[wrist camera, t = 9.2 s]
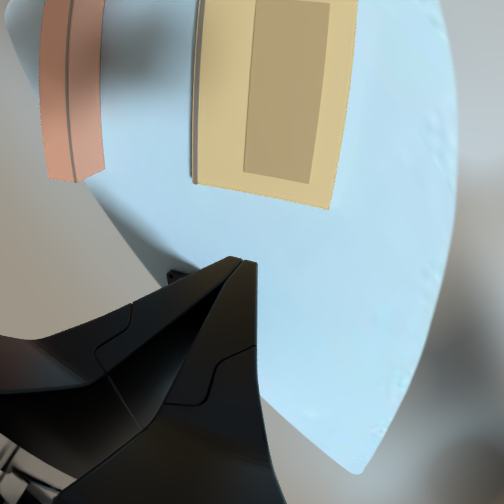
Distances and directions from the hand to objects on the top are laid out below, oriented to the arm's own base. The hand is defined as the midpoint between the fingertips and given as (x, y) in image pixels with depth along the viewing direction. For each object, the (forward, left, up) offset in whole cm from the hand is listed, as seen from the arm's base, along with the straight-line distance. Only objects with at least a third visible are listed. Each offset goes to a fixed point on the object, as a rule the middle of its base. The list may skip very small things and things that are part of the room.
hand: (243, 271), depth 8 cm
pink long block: (+6, +20, -12) cm, 25 cm away
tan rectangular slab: (+6, +3, -12) cm, 14 cm away
